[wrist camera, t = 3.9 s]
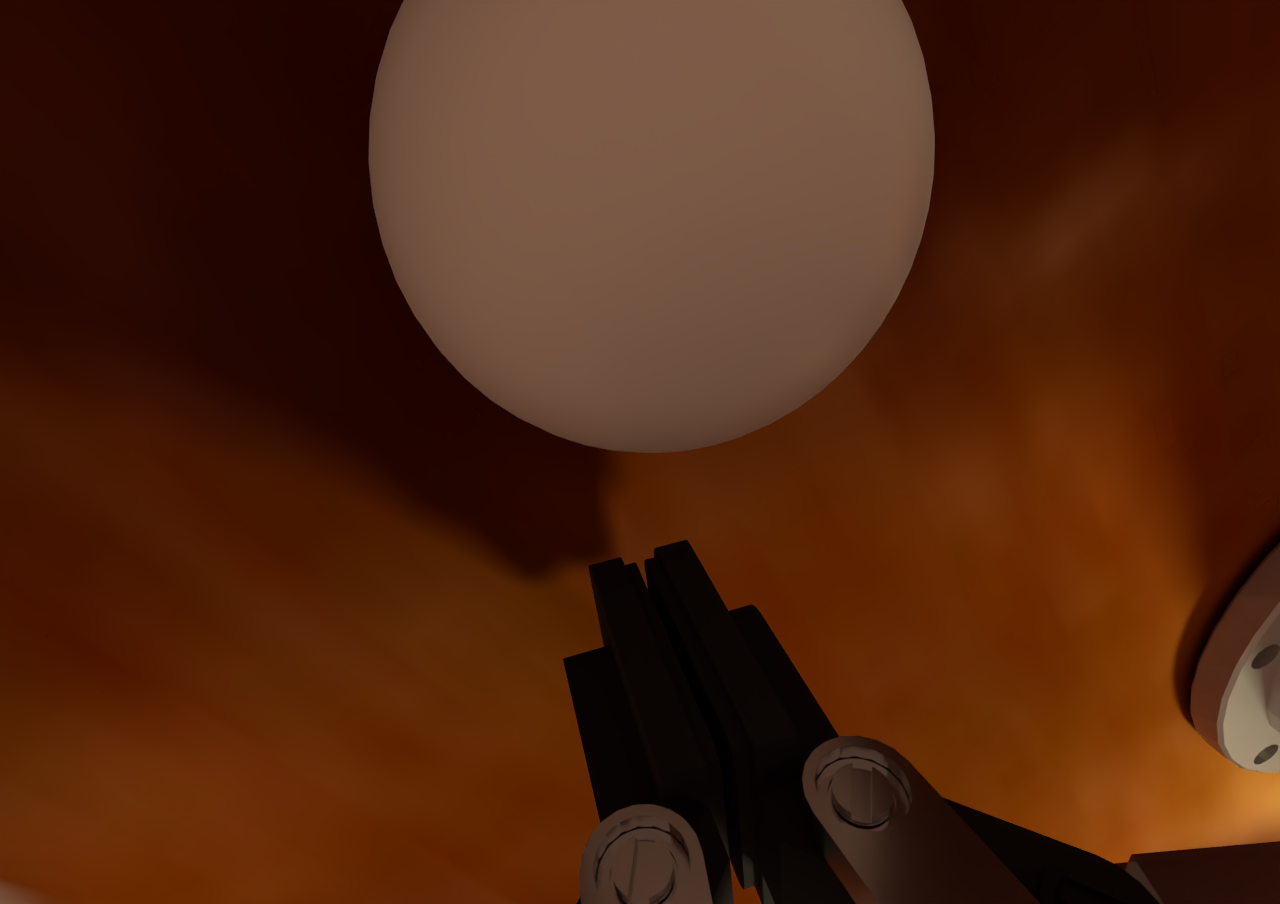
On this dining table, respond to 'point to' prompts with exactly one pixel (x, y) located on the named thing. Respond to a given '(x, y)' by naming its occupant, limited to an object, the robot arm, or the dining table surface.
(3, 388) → the dining table surface
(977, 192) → the dining table surface
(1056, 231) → the dining table surface
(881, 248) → the cue ball
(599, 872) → the robot arm
